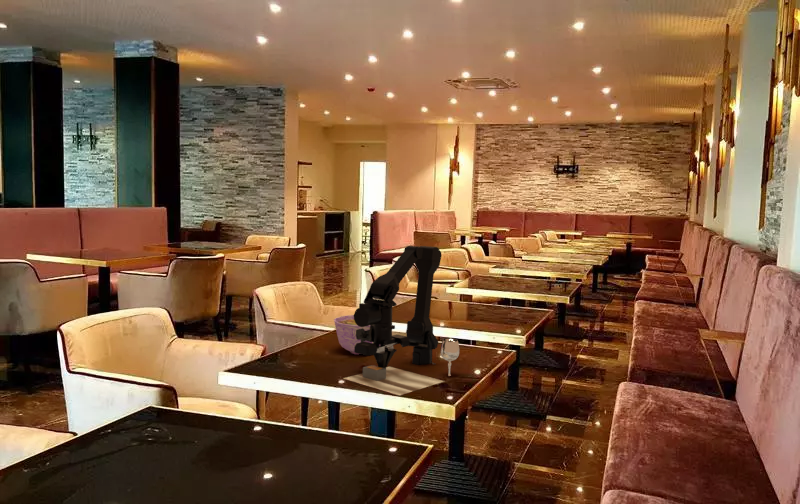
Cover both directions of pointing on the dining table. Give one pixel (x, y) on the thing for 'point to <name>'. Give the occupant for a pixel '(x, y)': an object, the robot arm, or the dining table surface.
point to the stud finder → (374, 372)
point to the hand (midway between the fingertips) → (382, 372)
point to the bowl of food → (348, 332)
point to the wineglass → (449, 351)
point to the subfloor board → (397, 381)
